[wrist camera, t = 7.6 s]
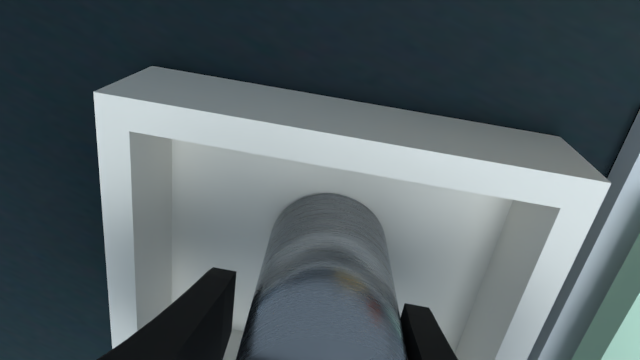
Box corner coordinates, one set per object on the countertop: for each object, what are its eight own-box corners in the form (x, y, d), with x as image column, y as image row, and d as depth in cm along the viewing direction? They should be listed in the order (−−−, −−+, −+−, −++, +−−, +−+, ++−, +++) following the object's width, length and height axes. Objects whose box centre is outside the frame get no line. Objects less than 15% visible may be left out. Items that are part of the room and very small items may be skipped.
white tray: (462, 379, 17) (479, 458, 14) (156, 320, 17) (115, 386, 14) (560, 136, 12) (611, 183, 10) (152, 65, 13) (93, 91, 10)
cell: (370, 302, 15) (391, 509, 9) (262, 282, 15) (211, 479, 9) (399, 205, 13) (445, 376, 8) (279, 182, 13) (232, 337, 7)
